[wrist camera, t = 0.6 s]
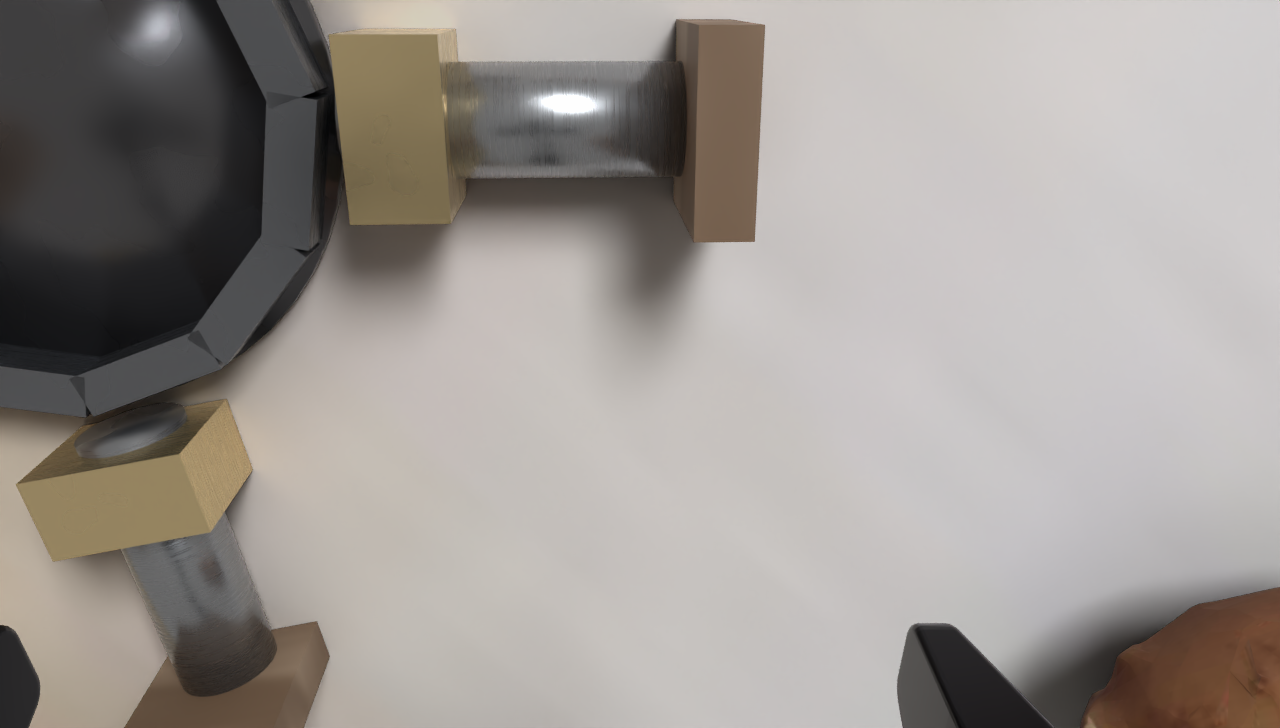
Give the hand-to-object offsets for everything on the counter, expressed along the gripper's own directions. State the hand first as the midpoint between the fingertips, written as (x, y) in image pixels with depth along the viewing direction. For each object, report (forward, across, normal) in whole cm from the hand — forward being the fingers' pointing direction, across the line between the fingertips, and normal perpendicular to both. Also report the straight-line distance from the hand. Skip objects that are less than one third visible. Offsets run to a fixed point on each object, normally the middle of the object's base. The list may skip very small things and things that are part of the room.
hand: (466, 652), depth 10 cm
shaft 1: (+12, +10, +9) cm, 18 cm away
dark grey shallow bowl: (+14, +11, -1) cm, 18 cm away
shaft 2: (+14, 0, -1) cm, 14 cm away
